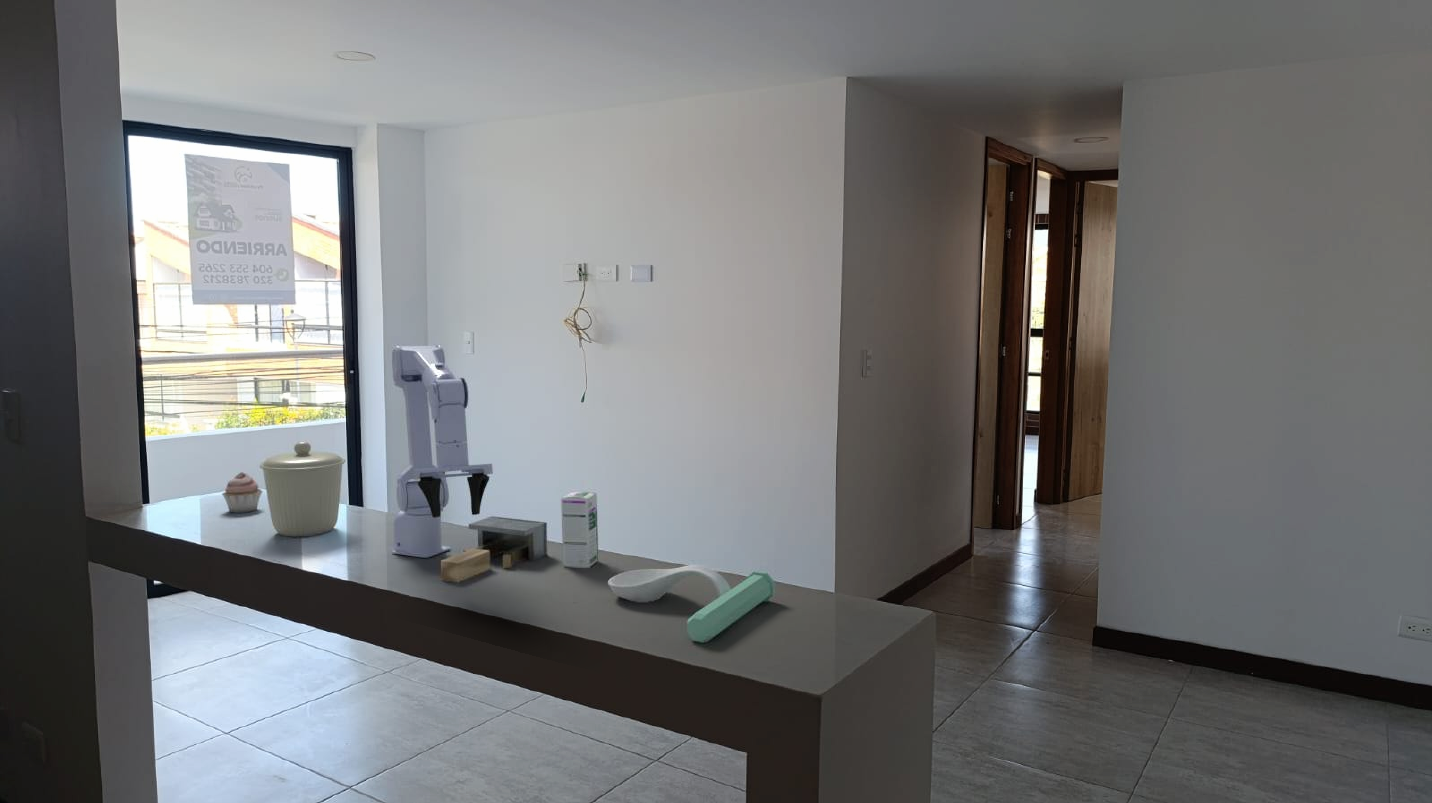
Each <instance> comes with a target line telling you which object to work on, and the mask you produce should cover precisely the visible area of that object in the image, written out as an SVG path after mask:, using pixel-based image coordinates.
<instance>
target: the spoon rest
mask: <svg viewBox="0 0 1432 803" xmlns="http://www.w3.org/2000/svg"><path fill="white" fill-rule="evenodd" d="M688 576H696V577H700V578H702V579H703V580H706V581H707V582H708V583H710V585H711V586H712V587H713V588H714V590H715V593H716V596H717V598H719V597H720V596H722V595H723V594H725V593H727V592H728V591H730V590H731V589H732V588H731V587H730V585H729V583H728V581H727V580H726V579H725V578H724V577H723V576H722V575H721V574H719V573H718V572H717V571H715V570H714V569H712V568H709V567H707V566H705V565H702V564H690V565H689V564H687V565H684V566H680V567H675V568H665V569H663V568H650V569H635V570H629V571H625V572H621V573H618V574H617V575H614V576H612V577H611V578H609V580H608V581H607V585H608V586H609V588H610V589H611V591H612V592H613V593H615V595H617V596H618V597H620V598H622V599H624V600H627V601H629V600H630V602H633V601H636V602H635V603H649V602H648V601H652V602H655V601H654V600H656V601H658V600H659V599H661V597H663V596H664V595H665V594H666V593H668V592H669V591H670V590H671V589H672V588H673V587H674V586H675V585H676V584H677V583H678V582H679V581H680V580H682V579H683V578H686V577H688ZM657 599H658V600H657Z"/></svg>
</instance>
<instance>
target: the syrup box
mask: <svg viewBox="0 0 1432 803" xmlns="http://www.w3.org/2000/svg"><path fill="white" fill-rule="evenodd" d="M597 499H598V496H597V493H596V492H591V491H575V492H574V491H571V492H570V493H569V494H567V495H565V496H563V497H561V498H560V502H561V503H560V504H561V508H560V509H561V536H562V537H561V538H562V566H563V567H566V568H574V569H575V568H576V569H577V568H578V569H590V567H591V566H593V565H594V564H595V563H596V562H598V561H599V542H598V539H599V536H598V529H599V528H598V500H597Z"/></svg>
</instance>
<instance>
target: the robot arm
mask: <svg viewBox="0 0 1432 803" xmlns="http://www.w3.org/2000/svg"><path fill="white" fill-rule="evenodd" d="M391 366H392V367H391V368H392V378H393V382H394V386H396V387H398V388H400V389H402V392H403V396H404V402H405V403H404V404H405V415H406V416H405V417H406V431H407V442H408V456H409V457H408V458H409V466H408V467H406V468H405V469H404V470H403V471H401V472H400V473H399V474H398V477H397V478H396V484H397V485H396V486H397V487H396V501H397V502H396V503H397V507H398V508H399V510H400V511H399V512H397V514H396V515H395V518H394V520H393V545H394V550H391V554H396V555H404V556H408V557H417V558H423V559H426V558H430V557H434V556H436V555H440V554H442V553H444V552H447V551H449V550H452V549H451V546H446V545H445V546H444V545H443V544H442V542H443V540H442V539H443V538H442V513H441V512H444V508H446V507H447V505H448V504H449V501H450V500H449V498H450V496H449V495H450V494H449V487H448V486H449V485H448V483H447V482H448V481H447V478H452V477H453V478H454V477H466V476H467V477H466V479H467V484H468V490H469V493H470V507H471V509H470V510H471V515H472V516H477V515H480V511H481V505H482V501H483V496H484V493H485V490H486V487H487V485H488V483H489V480H490V476H489V475H492V474H493V473H494V472H493V471H494V470H493V463H485V464H484V463H483V464H482V463H480V464H470V463H469V450H468V436H467V434H468V433H467V421H466V420H467V419H466V418H467V416H466V409H467V407H468V406H469V405H468V404H469V387H468V383H467V381H466V379H465V378H464V377H459V378H456V377H455V374H453V372H452V371H451V370H450V368H449V367H448V366H446V358H445V350H444V349H443V347H442V346H441V345H439V344H437V345H411V346H410V345H406V346H405V345H404V346H400V345H395V347H393V349H392V354H391ZM429 407H430V410H429ZM429 411H430V412H431V415H430V412H429ZM430 416H431V419H432V420H433V425H434V435H435V436H434V438H435V439H434V440H435V456H436V457H435V458H436V465H434V463H433V454H432V453H433V452H432V440H431V439H432V438H431V426H430V423H431V422H430ZM458 471H460V472H461V473H451V474H450V473H449V474H448V472H458ZM446 473H447V474H446ZM410 480H413V481H410Z"/></svg>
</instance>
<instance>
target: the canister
mask: <svg viewBox="0 0 1432 803" xmlns="http://www.w3.org/2000/svg"><path fill="white" fill-rule="evenodd" d="M311 449H312V446H311V444H310V443H309V442H307V441H299V442H297V443H295V445H294V447H293V450H294V452H288V453H283V454H282V453H281V454H277V455H272V456H270V457H268V458H267V459H265V460H264V461H262V462H260V464H259V468H260V469H262V471H263V478H264V485H265V491H266V497H267V502H268V508H269V512H270V518H271V522H272V526H273V528H274V530H275V531H276V533H277V534H278V535H282V536H286V537H293V538H294V537H295V538H296V537H298V538H300V537H311V536H312V537H313V536H316V535H317V536H318V535H322V534H325V533H327V532H329V531H330V532H331V531H332V530H333V529H334V528H335V527H336V525H337V523H338V519H339V518H338V517H339V510H340V502H341V500H340V499H341V490H342V489H341V488H342V487H341V486H342V473H343V465H344V464H345V463H346V458H344V457H341V456H340V455H338V454H336V453H333V452H328V451H327V452H326V451H312V450H311Z"/></svg>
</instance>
